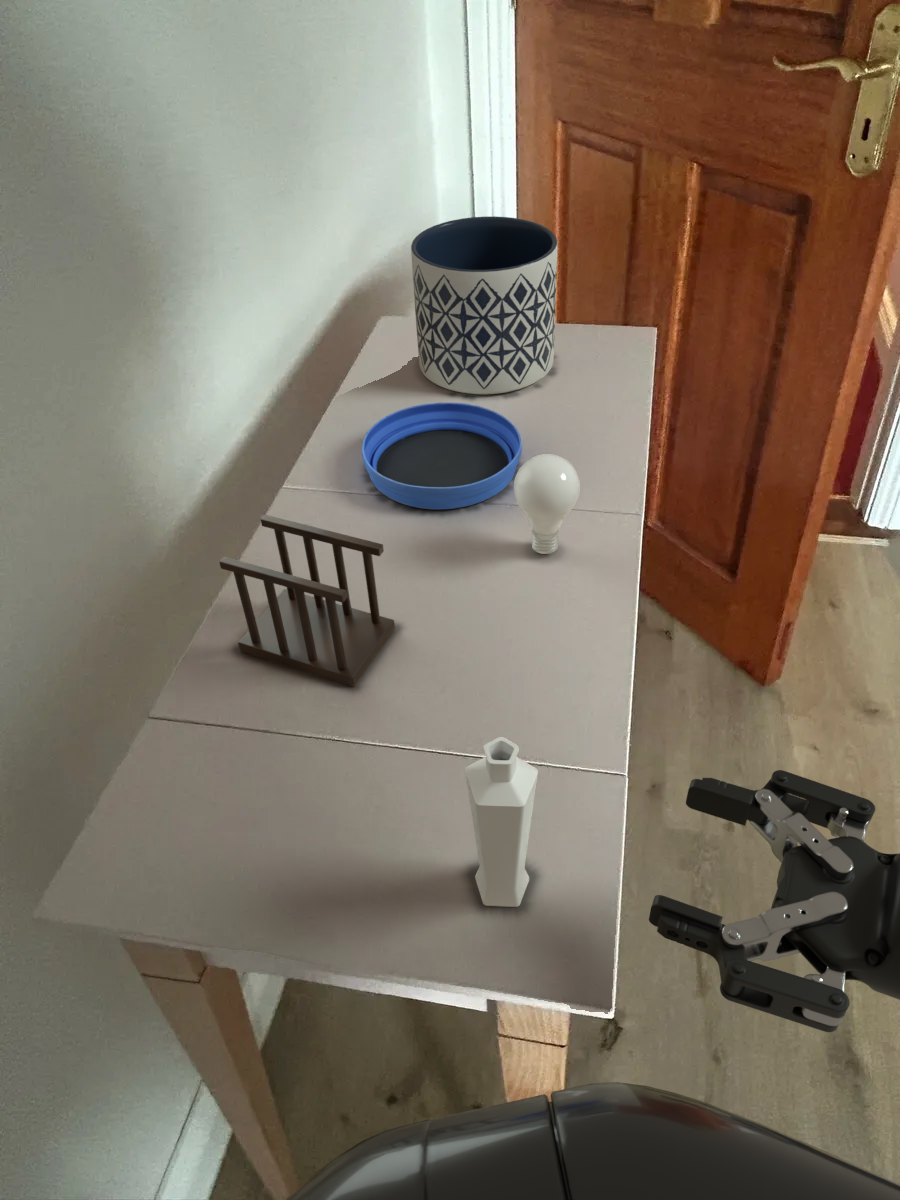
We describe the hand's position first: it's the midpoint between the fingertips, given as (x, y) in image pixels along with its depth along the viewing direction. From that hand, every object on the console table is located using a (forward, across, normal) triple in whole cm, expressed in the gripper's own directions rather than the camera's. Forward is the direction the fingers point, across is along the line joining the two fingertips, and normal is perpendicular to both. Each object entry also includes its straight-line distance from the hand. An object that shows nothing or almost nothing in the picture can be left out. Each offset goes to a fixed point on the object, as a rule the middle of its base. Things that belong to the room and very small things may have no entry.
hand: (670, 847), depth 54 cm
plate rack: (+36, -17, +11) cm, 41 cm away
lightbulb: (+21, -37, +12) cm, 44 cm away
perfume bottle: (+11, 0, +12) cm, 16 cm away
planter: (+42, -72, +12) cm, 84 cm away
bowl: (+37, -47, +12) cm, 61 cm away
